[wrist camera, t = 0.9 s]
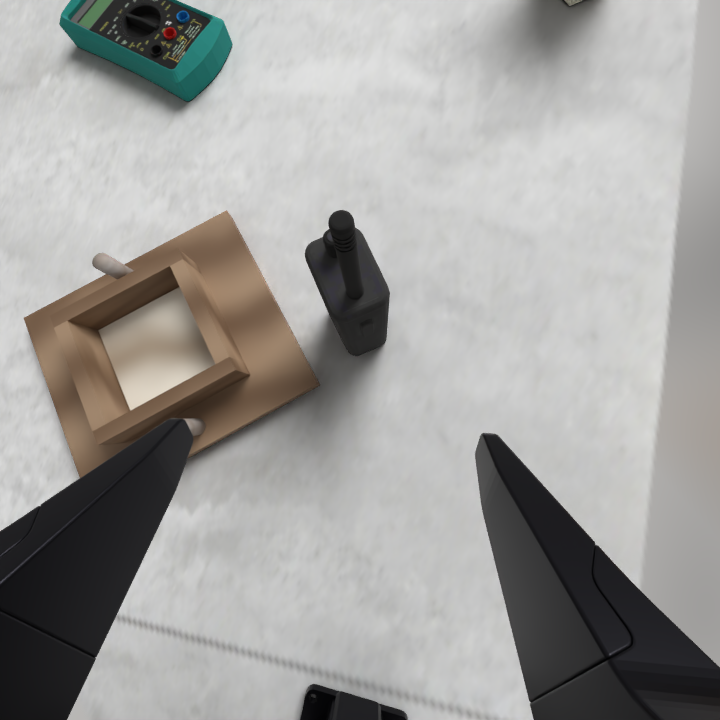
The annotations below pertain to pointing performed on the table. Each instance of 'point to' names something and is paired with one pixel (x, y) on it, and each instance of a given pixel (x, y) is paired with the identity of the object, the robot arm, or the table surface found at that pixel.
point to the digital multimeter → (152, 40)
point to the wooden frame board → (168, 346)
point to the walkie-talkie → (350, 284)
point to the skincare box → (572, 2)
